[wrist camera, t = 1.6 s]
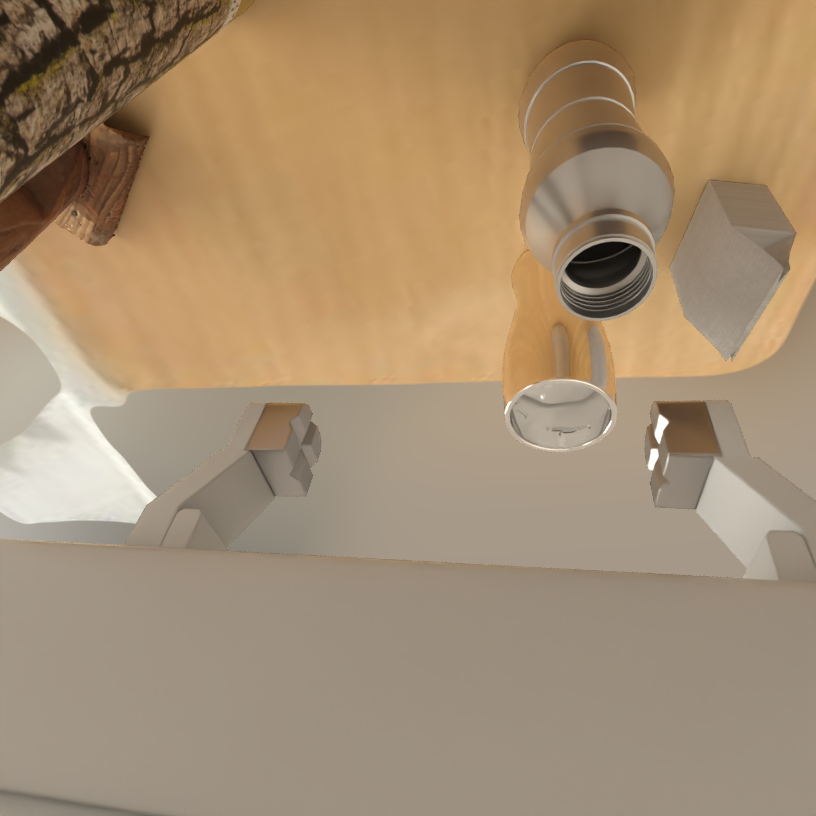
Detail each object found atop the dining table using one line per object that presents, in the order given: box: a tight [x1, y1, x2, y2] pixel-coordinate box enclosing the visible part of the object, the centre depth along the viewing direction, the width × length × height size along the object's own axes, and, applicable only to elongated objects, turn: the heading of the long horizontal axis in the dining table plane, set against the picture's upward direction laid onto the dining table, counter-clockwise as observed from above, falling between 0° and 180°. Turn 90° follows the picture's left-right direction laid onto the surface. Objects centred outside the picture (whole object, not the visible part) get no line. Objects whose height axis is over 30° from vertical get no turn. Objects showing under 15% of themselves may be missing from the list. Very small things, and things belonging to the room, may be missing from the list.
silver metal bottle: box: [518, 40, 675, 321], centre depth 28 cm, size 6×7×20 cm
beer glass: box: [502, 249, 618, 452], centre depth 39 cm, size 7×7×15 cm
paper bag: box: [669, 180, 796, 362], centre depth 36 cm, size 4×7×10 cm, turn 178°
